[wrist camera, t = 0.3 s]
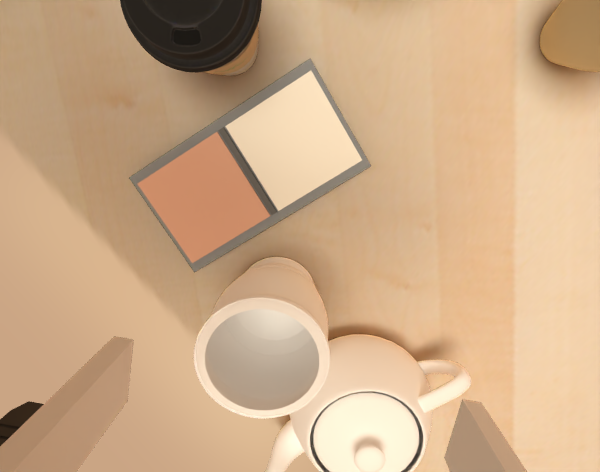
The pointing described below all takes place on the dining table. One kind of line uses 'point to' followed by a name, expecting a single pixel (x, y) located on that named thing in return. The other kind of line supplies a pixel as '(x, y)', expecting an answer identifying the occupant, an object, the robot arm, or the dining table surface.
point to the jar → (265, 342)
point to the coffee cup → (197, 33)
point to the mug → (573, 35)
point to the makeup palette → (251, 167)
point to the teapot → (368, 410)
